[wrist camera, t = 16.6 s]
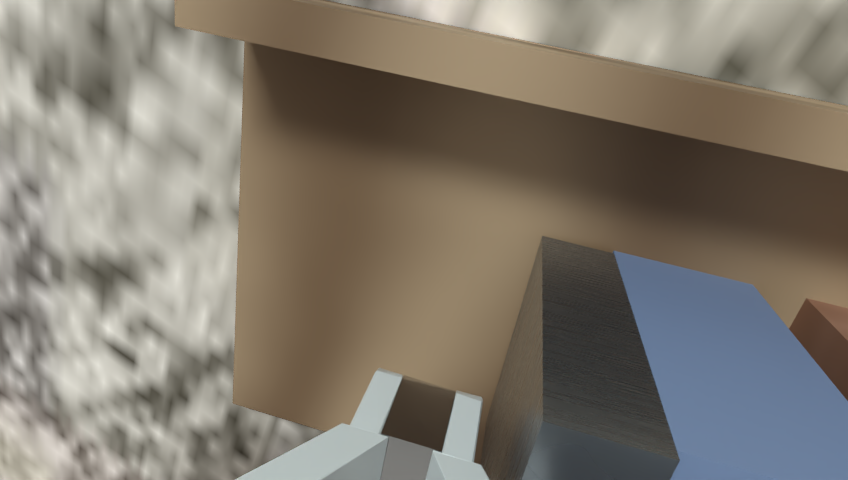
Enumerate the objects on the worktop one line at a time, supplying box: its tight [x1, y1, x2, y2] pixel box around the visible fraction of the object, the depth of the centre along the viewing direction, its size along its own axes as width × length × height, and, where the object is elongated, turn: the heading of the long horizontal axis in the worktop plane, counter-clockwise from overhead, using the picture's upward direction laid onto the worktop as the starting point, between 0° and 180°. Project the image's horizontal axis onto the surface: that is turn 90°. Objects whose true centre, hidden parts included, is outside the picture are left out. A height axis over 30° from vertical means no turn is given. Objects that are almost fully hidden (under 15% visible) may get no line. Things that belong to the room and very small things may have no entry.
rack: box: [175, 0, 848, 464], centre depth 10 cm, size 17×12×7 cm
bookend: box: [480, 236, 680, 480], centre depth 10 cm, size 2×6×6 cm, turn 169°
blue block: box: [613, 251, 848, 480], centre depth 10 cm, size 3×6×6 cm, turn 169°
